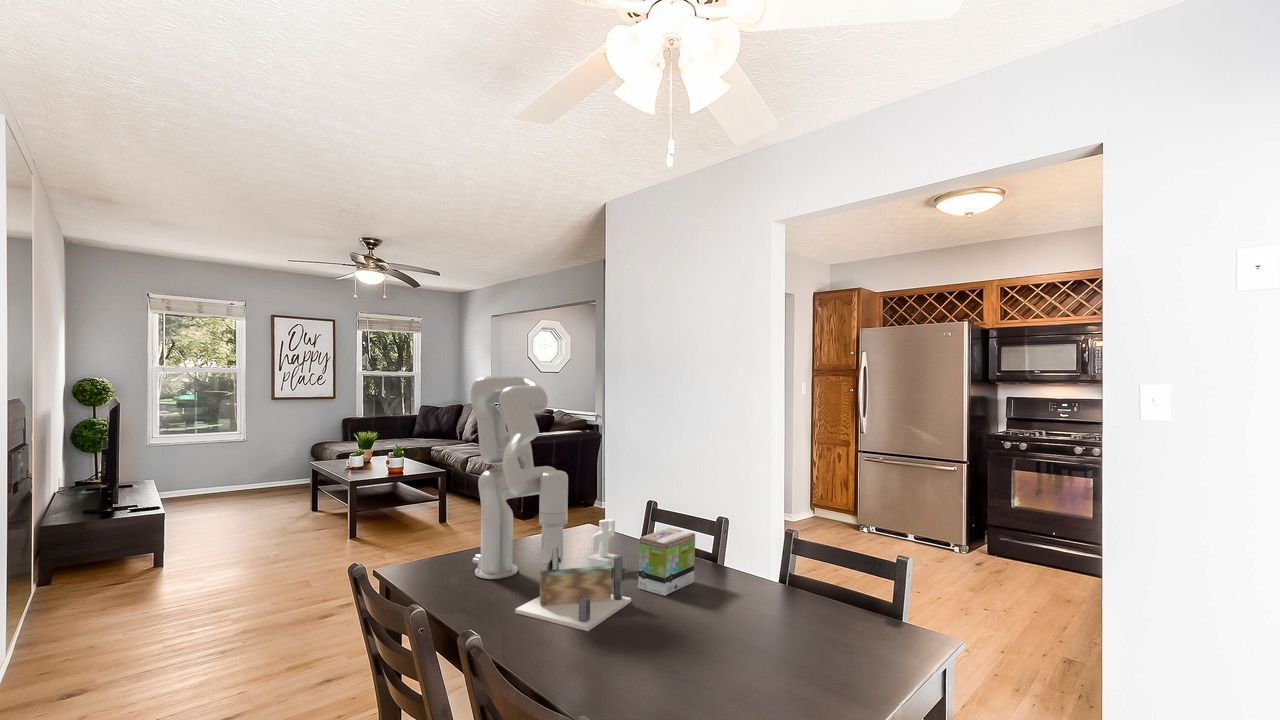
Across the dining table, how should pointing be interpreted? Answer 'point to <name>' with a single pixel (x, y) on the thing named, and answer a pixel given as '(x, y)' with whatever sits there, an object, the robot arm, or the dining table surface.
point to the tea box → (666, 561)
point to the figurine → (603, 544)
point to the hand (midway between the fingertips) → (552, 586)
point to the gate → (575, 584)
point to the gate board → (573, 611)
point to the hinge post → (617, 590)
